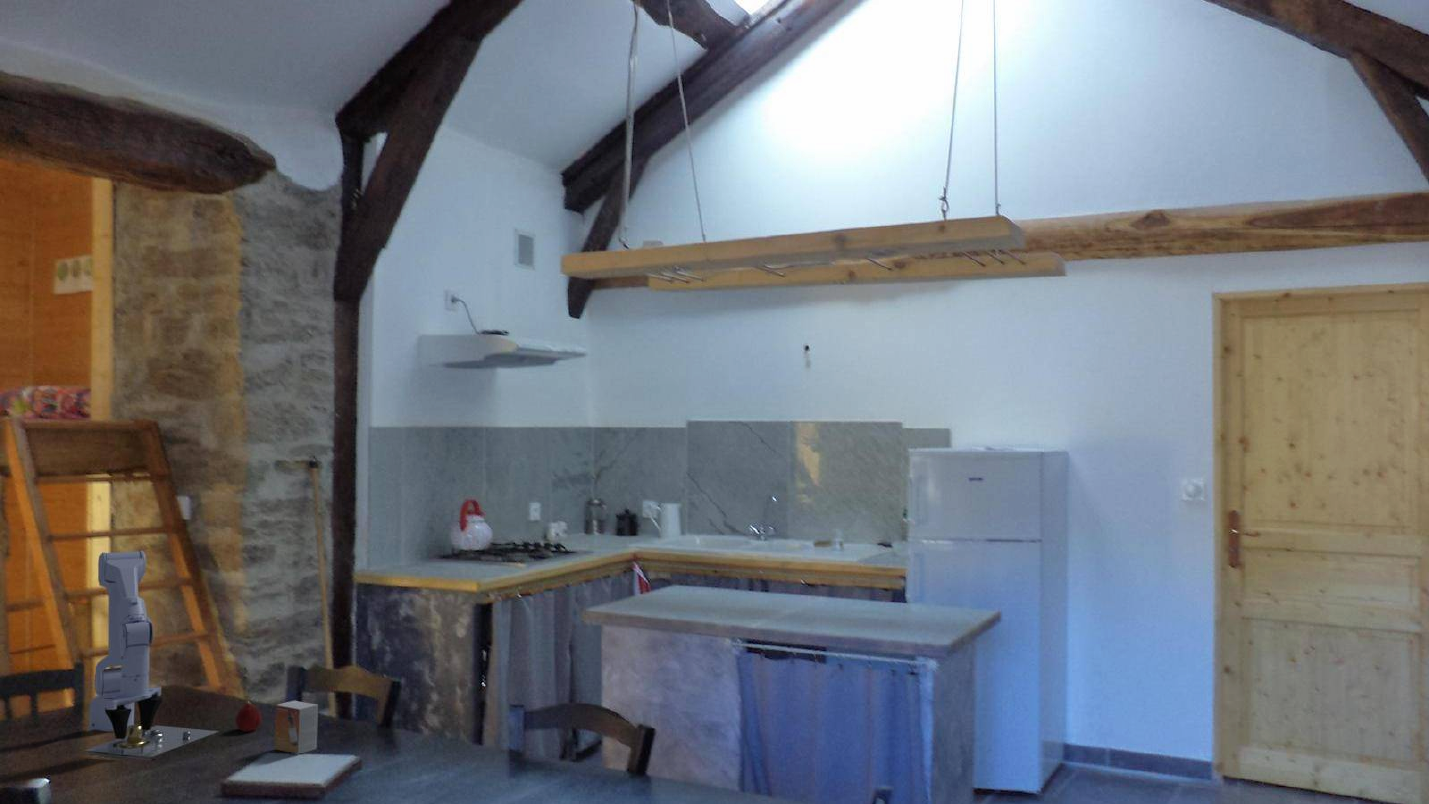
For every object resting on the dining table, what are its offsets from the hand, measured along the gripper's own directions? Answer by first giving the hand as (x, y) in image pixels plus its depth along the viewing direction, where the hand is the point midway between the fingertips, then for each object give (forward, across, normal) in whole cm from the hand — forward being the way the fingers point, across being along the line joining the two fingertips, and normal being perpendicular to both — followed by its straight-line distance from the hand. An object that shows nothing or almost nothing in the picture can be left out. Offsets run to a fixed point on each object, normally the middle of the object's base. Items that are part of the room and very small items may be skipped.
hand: (133, 734), depth 250 cm
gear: (+3, 0, 0) cm, 3 cm away
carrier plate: (+4, +6, 0) cm, 8 cm away
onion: (+4, +20, -15) cm, 26 cm away
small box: (+4, +12, -34) cm, 37 cm away
